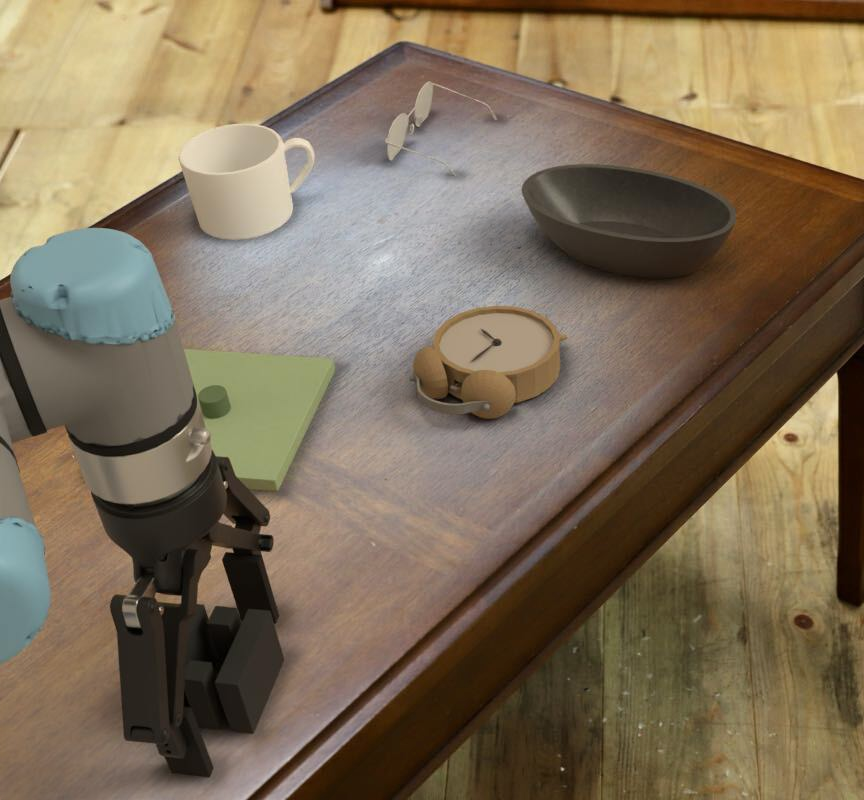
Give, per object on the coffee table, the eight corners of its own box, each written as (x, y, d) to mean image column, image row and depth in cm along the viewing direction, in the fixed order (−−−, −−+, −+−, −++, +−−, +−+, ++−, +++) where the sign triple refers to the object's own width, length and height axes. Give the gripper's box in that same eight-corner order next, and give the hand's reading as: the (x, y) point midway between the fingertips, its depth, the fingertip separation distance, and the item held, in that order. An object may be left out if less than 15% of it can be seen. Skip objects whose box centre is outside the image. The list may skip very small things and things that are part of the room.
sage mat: (94, 478, 115) (83, 449, 113) (169, 360, 127) (160, 331, 125) (278, 493, 112) (270, 463, 110) (336, 371, 124) (330, 342, 122)
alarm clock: (586, 327, 123) (486, 397, 112) (583, 375, 126) (485, 447, 115) (484, 292, 128) (379, 354, 117) (483, 338, 131) (381, 404, 119)
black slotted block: (164, 726, 95) (144, 675, 91) (199, 653, 100) (181, 602, 96) (254, 736, 94) (237, 685, 90) (285, 661, 99) (270, 610, 95)
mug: (196, 250, 141) (177, 181, 135) (195, 198, 148) (177, 131, 143) (328, 230, 143) (314, 161, 137) (320, 179, 151) (307, 113, 145)
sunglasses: (431, 111, 161) (433, 73, 158) (498, 129, 160) (501, 92, 157) (383, 170, 151) (384, 131, 148) (454, 191, 150) (456, 152, 147)
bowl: (556, 203, 145) (553, 151, 141) (754, 246, 137) (756, 192, 133) (502, 263, 137) (497, 210, 133) (709, 313, 129) (710, 258, 125)
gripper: (126, 630, 73) (215, 853, 87) (278, 346, 92) (331, 566, 106) (-5, 618, 74) (103, 840, 88) (172, 339, 93) (238, 558, 107)
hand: (228, 691), depth 97 cm, fingers open, 13 cm apart
